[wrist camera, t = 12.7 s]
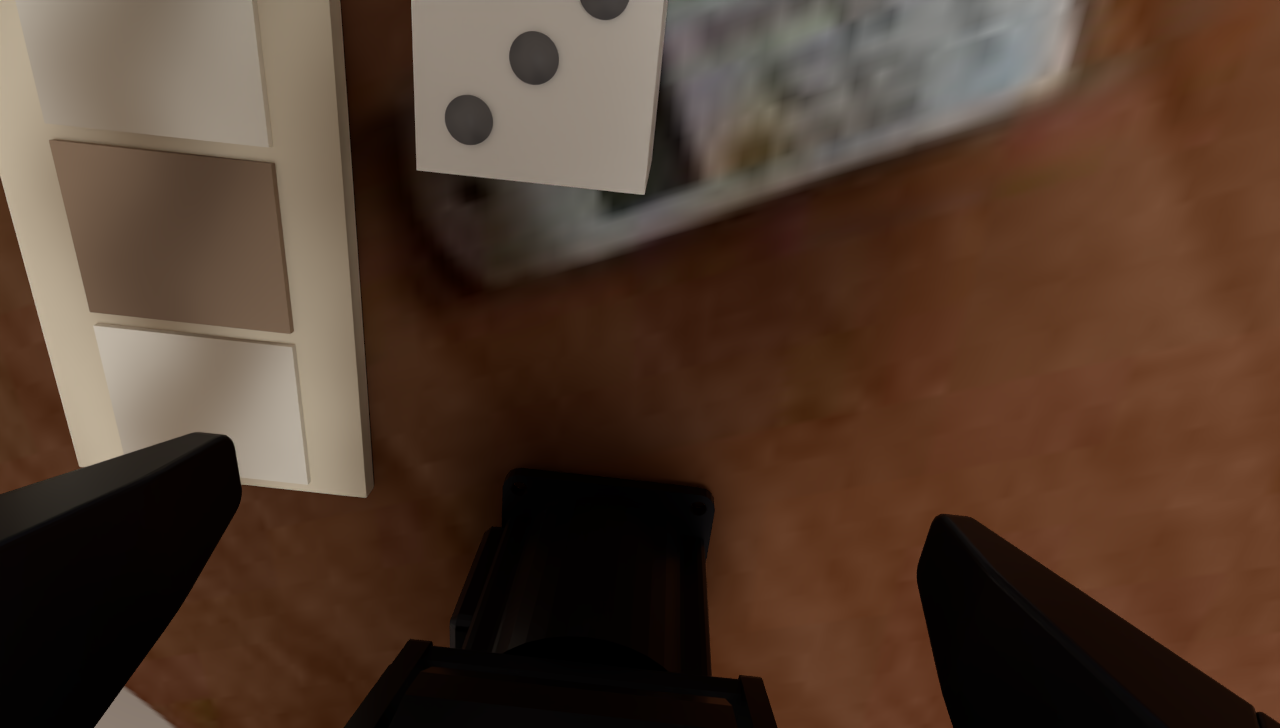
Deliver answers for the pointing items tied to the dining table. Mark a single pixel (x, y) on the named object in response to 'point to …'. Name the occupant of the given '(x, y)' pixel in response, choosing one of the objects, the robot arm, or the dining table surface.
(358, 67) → the dining table surface
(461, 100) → the die
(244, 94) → the game strip
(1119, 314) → the dining table surface
